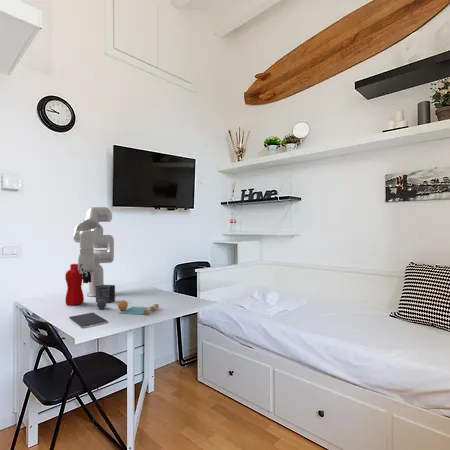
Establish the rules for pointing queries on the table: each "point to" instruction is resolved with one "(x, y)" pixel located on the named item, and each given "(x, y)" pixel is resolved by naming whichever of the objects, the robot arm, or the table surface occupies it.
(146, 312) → the stopper strip
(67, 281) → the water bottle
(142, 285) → the table surface
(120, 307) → the orange ball
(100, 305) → the dark gray ball
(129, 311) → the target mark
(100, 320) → the notebook
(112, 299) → the small box
